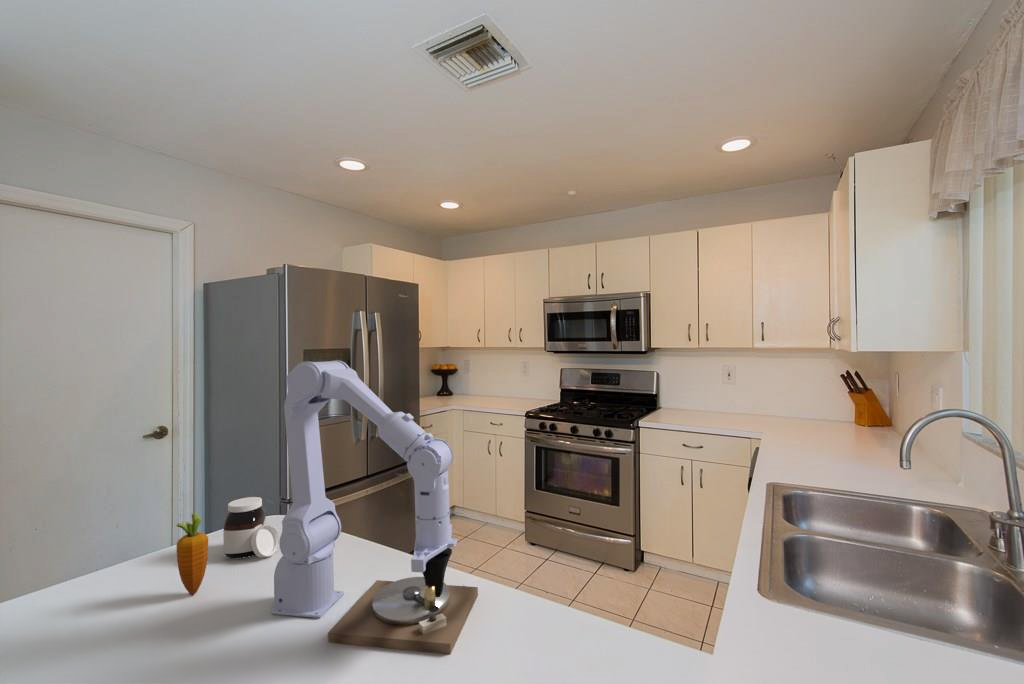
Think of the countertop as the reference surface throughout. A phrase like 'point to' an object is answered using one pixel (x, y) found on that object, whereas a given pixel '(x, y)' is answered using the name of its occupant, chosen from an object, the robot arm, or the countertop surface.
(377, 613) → the cam dial
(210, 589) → the countertop surface
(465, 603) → the stand
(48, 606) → the countertop surface
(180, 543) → the carrot
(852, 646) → the countertop surface
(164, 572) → the countertop surface
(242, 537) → the spread jar
